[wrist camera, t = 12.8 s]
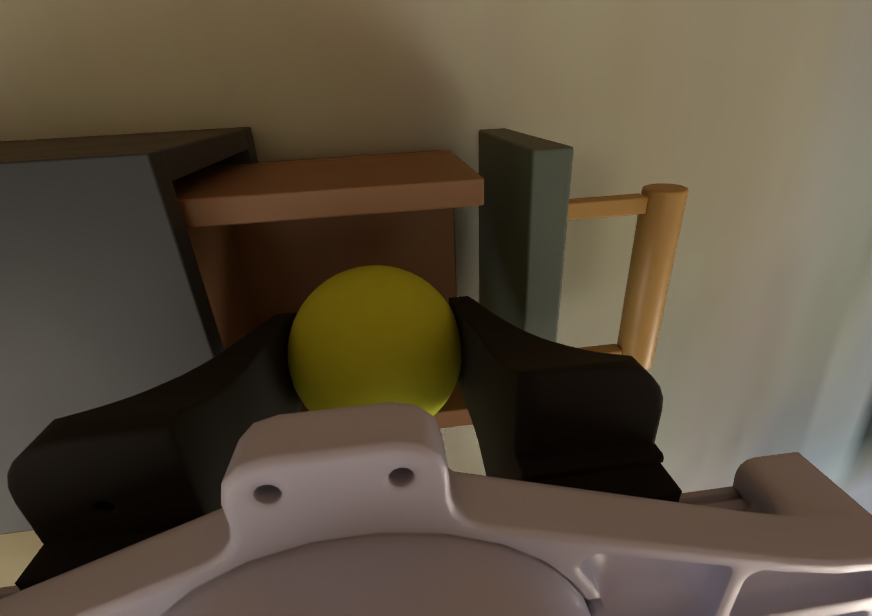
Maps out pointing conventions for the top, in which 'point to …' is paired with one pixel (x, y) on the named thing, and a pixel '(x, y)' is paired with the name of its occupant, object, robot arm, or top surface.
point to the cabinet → (98, 276)
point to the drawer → (420, 235)
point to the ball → (374, 342)
